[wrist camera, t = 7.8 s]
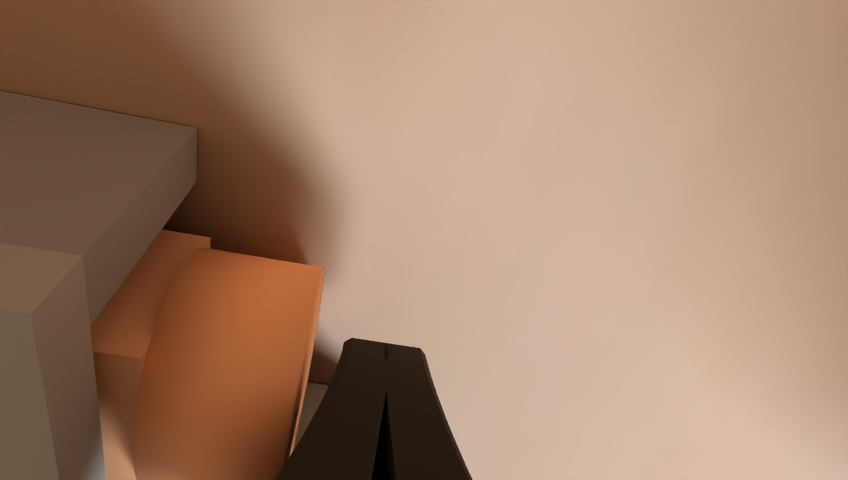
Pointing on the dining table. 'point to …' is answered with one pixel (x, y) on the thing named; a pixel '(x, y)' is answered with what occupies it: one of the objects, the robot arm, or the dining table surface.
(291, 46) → the dining table surface
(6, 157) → the box
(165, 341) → the orange knob
